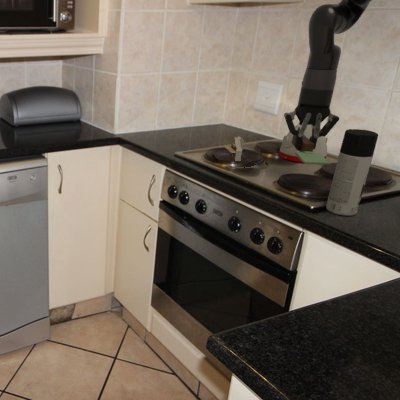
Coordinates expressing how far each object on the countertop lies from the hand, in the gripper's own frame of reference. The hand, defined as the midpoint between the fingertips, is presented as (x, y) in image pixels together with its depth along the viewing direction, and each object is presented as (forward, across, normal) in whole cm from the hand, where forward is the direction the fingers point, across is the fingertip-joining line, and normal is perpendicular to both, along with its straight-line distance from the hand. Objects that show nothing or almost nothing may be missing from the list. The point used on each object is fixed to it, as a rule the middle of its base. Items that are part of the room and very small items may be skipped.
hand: (303, 149), depth 131 cm
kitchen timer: (+10, +8, +28) cm, 31 cm away
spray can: (+10, +6, -18) cm, 22 cm away
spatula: (0, 0, -2) cm, 3 cm away
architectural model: (+10, -14, +19) cm, 26 cm away
